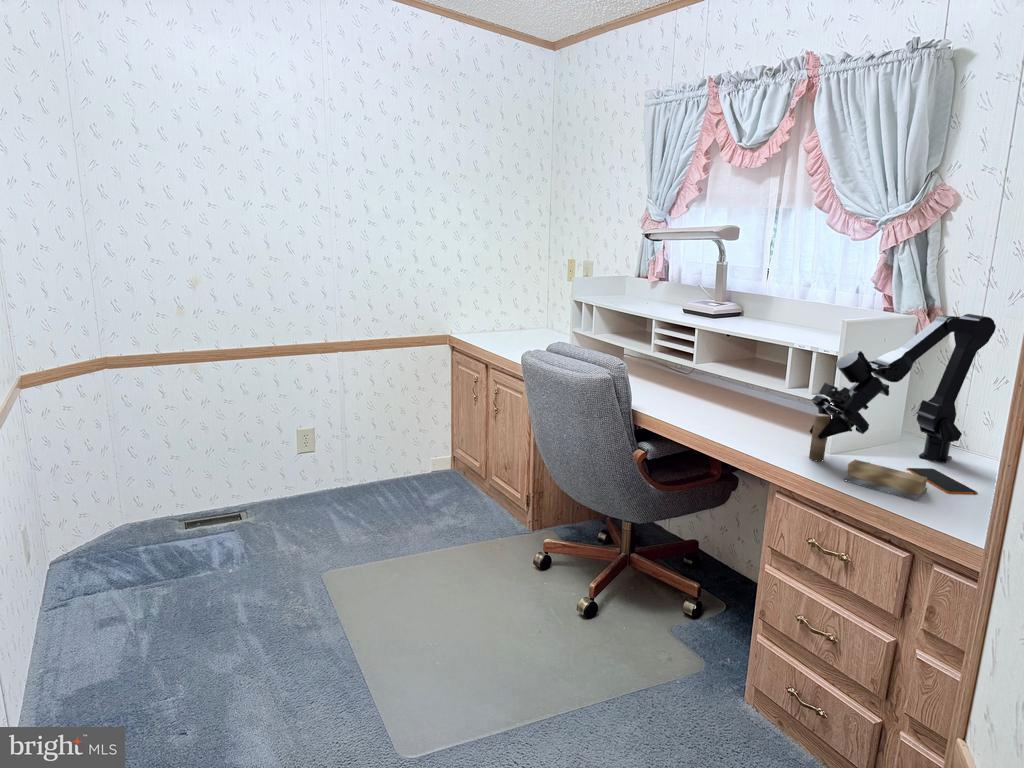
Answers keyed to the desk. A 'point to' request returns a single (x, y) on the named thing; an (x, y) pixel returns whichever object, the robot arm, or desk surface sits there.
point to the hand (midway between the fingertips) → (814, 435)
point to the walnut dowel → (818, 444)
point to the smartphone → (942, 481)
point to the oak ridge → (886, 479)
